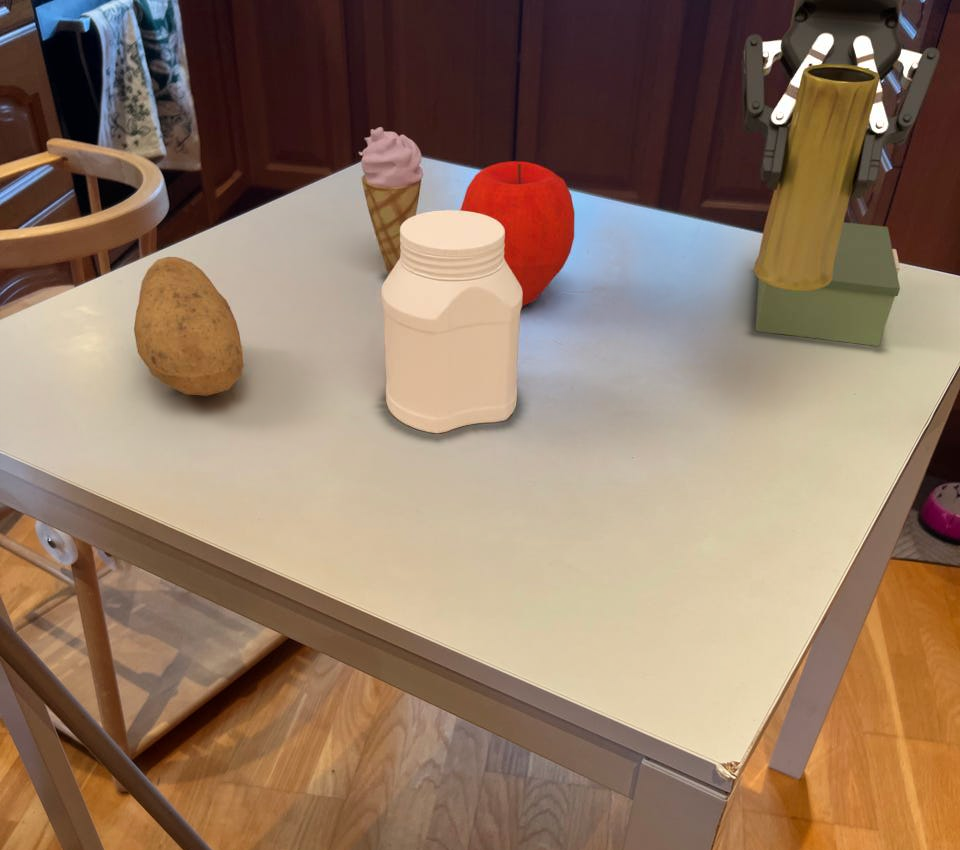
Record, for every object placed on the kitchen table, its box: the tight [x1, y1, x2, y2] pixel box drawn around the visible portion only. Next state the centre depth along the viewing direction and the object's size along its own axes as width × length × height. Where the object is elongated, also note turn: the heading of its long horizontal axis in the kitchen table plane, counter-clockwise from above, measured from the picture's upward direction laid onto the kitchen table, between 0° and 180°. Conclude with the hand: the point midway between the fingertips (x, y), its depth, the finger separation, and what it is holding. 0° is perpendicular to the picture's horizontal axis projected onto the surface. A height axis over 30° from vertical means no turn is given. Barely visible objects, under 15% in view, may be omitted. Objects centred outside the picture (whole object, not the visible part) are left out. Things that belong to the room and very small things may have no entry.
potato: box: [133, 256, 245, 397], centre depth 84 cm, size 9×16×9 cm, turn 17°
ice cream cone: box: [358, 126, 424, 276], centre depth 101 cm, size 7×6×15 cm
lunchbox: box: [755, 222, 901, 347], centre depth 100 cm, size 13×16×6 cm
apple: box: [459, 160, 575, 307], centre depth 97 cm, size 12×12×13 cm
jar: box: [380, 209, 523, 434], centre depth 81 cm, size 12×10×15 cm
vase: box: [753, 64, 879, 291], centre depth 72 cm, size 6×6×14 cm
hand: (815, 187), depth 71 cm, fingers closed on vase, 5 cm apart
